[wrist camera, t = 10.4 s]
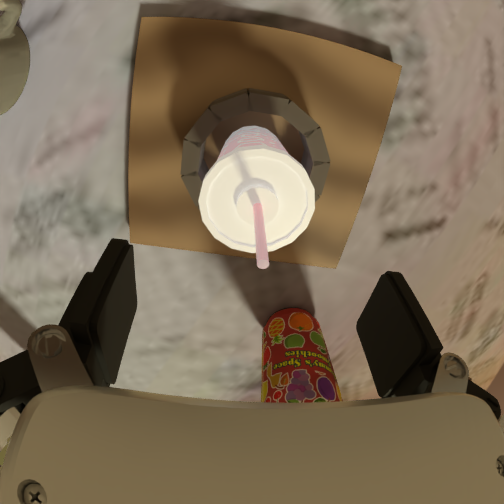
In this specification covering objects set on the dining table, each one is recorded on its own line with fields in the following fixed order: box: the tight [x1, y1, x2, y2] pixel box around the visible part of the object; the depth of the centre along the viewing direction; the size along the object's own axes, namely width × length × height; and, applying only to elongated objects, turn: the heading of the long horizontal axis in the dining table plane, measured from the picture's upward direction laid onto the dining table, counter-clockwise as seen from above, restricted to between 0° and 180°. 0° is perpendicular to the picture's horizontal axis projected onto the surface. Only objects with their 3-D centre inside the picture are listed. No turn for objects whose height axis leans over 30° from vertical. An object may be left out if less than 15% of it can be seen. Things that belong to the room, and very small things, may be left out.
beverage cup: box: [198, 126, 315, 269], centre depth 18 cm, size 6×6×14 cm
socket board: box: [128, 17, 402, 268], centre depth 23 cm, size 20×20×5 cm
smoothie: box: [261, 308, 343, 403], centre depth 29 cm, size 8×8×20 cm
